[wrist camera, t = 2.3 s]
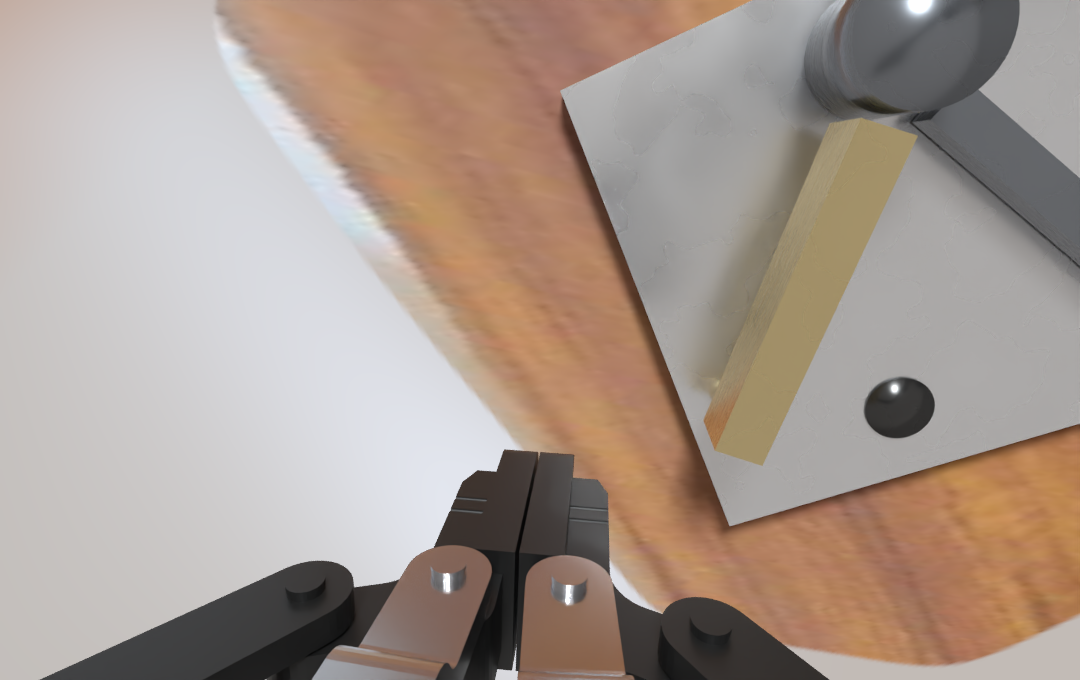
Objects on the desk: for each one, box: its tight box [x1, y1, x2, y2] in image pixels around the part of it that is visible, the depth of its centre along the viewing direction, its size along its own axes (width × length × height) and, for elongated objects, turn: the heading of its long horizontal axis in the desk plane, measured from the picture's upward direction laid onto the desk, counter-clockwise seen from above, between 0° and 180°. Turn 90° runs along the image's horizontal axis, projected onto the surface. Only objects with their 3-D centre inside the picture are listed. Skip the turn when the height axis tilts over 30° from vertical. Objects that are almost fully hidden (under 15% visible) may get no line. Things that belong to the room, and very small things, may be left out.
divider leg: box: [703, 118, 918, 466], centre depth 20 cm, size 10×2×4 cm, turn 163°
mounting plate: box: [561, 0, 1080, 526], centre depth 19 cm, size 18×18×5 cm
